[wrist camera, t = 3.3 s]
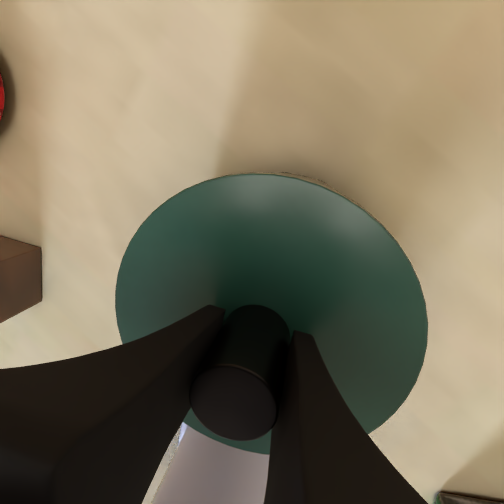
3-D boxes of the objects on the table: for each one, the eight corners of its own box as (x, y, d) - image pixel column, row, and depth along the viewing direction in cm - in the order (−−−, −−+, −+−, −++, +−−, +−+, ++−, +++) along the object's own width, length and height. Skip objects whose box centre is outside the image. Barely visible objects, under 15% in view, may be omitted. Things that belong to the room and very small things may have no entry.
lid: (359, 468, 13) (377, 610, 9) (121, 386, 15) (43, 478, 11) (475, 217, 10) (593, 265, 6) (143, 139, 11) (37, 129, 7)
